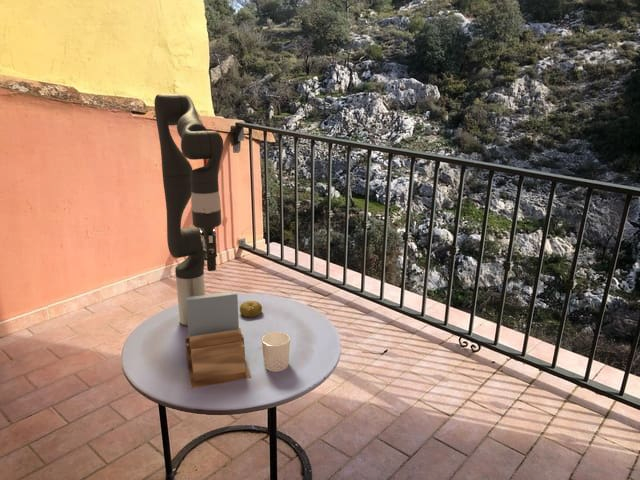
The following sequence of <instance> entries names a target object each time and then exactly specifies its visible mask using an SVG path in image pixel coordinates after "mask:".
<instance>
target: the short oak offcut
mask: <svg viewBox="0 0 640 480" xmlns="http://www.w3.org/2000/svg"><path fill="white" fill-rule="evenodd" d="M245 347H246V346H245V343H244V344H243V341H241V342H235V343H228V344H222V345H215V346H209V347H203V348H196V349H191V352H192V365H193V376H194V381H196V380H202V379H207V378H213V377H219V376H224V375H230V374H236V373H241V372H246V370H245V361H246V352H245Z"/></svg>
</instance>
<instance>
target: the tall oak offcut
mask: <svg viewBox="0 0 640 480" xmlns="http://www.w3.org/2000/svg"><path fill="white" fill-rule="evenodd" d="M240 329H241V328H240ZM240 329H238V330H231V331H224V332H218V333H211V334H204V335H197V336H191V337H190V347H191V349H196V348H203V347H209V346H215V345H222V344H228V343H235V342H241V341H242V335H243V333H242V329H241V330H240ZM191 359H192V352H191ZM192 370H193V365H192Z"/></svg>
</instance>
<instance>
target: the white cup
mask: <svg viewBox="0 0 640 480" xmlns="http://www.w3.org/2000/svg"><path fill="white" fill-rule="evenodd" d="M290 342H291V338H290V335H288V334H287V333H286V332H285V333H284V332H282V331H281V332H280V331H274V332H272V331H271V332H269V333H266V334H264V335H263V336H262V337H261V347H262V356H263V357H262V358H263V366H264V368H265V369H266V370H268V372H269V371H270V372H276V373H277V372H282V371H284V370H286V369H287V368H288V367H289V363H290V362H289V361H290V345H291V344H290Z"/></svg>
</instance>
